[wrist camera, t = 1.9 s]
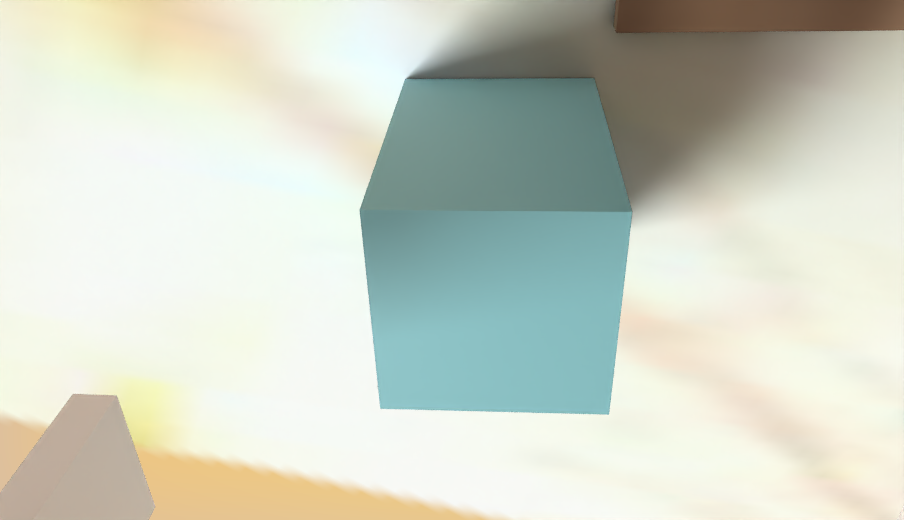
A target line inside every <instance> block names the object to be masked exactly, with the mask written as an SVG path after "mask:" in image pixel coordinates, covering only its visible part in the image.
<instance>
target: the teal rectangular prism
mask: <svg viewBox="0 0 904 520" xmlns="http://www.w3.org/2000/svg"><path fill="white" fill-rule="evenodd" d="M360 218H361V227H362V237H363V246H364V256H365V266H366V275H367V285H368V294H369V304H370V313H371V323H372V332H373V342H374V351H375V361H376V371H377V380H378V390H379V399H380V409H415V410H454V411H493V412H532V413H571V414H609V410H610V401H611V392H612V384H613V375H614V366H615V358H616V349H617V340H618V332H619V323H620V314H621V306H622V297H623V288H624V280H625V271H626V262H627V254H628V245H629V236H630V228H631V219H632V209H631V206H630V202H629V199H628V195H627V192H626V188H625V185H624V181H623V178H622V174H621V171H620V167H619V163H618V160H617V156H616V153H615V149H614V146H613V142H612V139H611V135H610V132H609V128H608V125H607V121H606V118H605V114H604V111H603V107H602V104H601V100H600V97H599V93H598V90H597V86H596V83H595V79H594V78H506V79H405V81H404V84H403V87H402V90H401V93H400V96H399V99H398V102H397V104H396V107H395V110H394V113H393V116H392V119H391V122H390V124H389V127H388V130H387V133H386V136H385V139H384V142H383V145H382V147H381V150H380V153H379V156H378V159H377V162H376V165H375V167H374V170H373V173H372V176H371V179H370V182H369V185H368V188H367V190H366V193H365V196H364V199H363V202H362V205H361V208H360Z"/></svg>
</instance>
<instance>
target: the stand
mask: <svg viewBox="0 0 904 520" xmlns="http://www.w3.org/2000/svg"><path fill="white" fill-rule="evenodd" d="M614 29H615V31H616V33H643V32H758V31H874V30H904V0H616V3H615V15H614Z"/></svg>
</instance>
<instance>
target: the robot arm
mask: <svg viewBox="0 0 904 520" xmlns="http://www.w3.org/2000/svg"><path fill="white" fill-rule="evenodd" d="M154 508H155V504H154V501H153V499H152V496H151V493H150V490H149V487H148V484H147V481H146V478H145V476H144V473H143V470H142V467H141V464H140V461H139V458H138V455H137V453H136V450H135V447H134V444H133V441H132V438H131V435H130V432H129V429H128V427H127V424H126V421H125V418H124V415H123V412H122V409H121V406H120V404H119V401H118V398H117V396H114V395H86V394H73V395H72V396H71V397H70V399H69V400H68V401H67V403H66V404H65V406H64V407H63V408H62V410H61V411H60V412H59V414H58V415H57V416H56V418H55V419H54V420H53V422H52V423H51V424H50V426H49V427H48V428H47V430H46V431H45V433H44V434H43V435H42V437H41V438H40V439H39V441H38V442H37V443H36V445H35V446H34V447H33V449H32V450H31V452H30V453H29V454H28V456H27V457H26V458H25V460H24V461H23V462H22V464H21V465H20V466H19V468H18V469H17V470H16V472H15V473H14V474H13V476H12V477H11V479H10V480H9V481H8V483H7V484H6V485H5V487H4V488H3V489H2V491H1V492H0V520H149V518H150V516H151V514H152V512H153V510H154ZM898 520H904V506H903V508H902V511H901V513H900V515H899V518H898Z"/></svg>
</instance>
